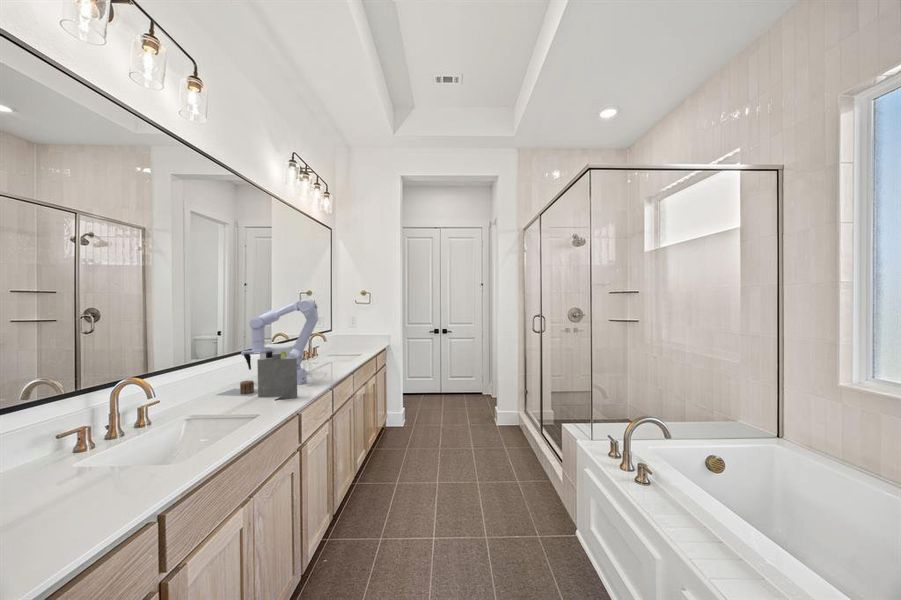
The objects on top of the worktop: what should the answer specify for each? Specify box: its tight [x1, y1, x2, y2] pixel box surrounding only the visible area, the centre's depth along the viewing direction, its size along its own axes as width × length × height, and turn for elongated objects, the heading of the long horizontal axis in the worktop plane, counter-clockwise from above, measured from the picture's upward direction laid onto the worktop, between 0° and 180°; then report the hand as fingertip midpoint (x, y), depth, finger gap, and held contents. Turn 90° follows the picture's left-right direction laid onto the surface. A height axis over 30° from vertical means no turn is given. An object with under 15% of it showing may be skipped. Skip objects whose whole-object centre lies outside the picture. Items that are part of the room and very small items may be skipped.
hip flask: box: [256, 353, 298, 401], centre depth 160 cm, size 16×4×20 cm, turn 100°
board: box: [216, 388, 258, 397], centre depth 167 cm, size 18×12×2 cm, turn 81°
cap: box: [239, 380, 255, 394], centre depth 165 cm, size 5×5×5 cm
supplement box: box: [259, 343, 295, 359], centre depth 209 cm, size 17×13×18 cm
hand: (258, 368), depth 182 cm, fingers open, 7 cm apart
